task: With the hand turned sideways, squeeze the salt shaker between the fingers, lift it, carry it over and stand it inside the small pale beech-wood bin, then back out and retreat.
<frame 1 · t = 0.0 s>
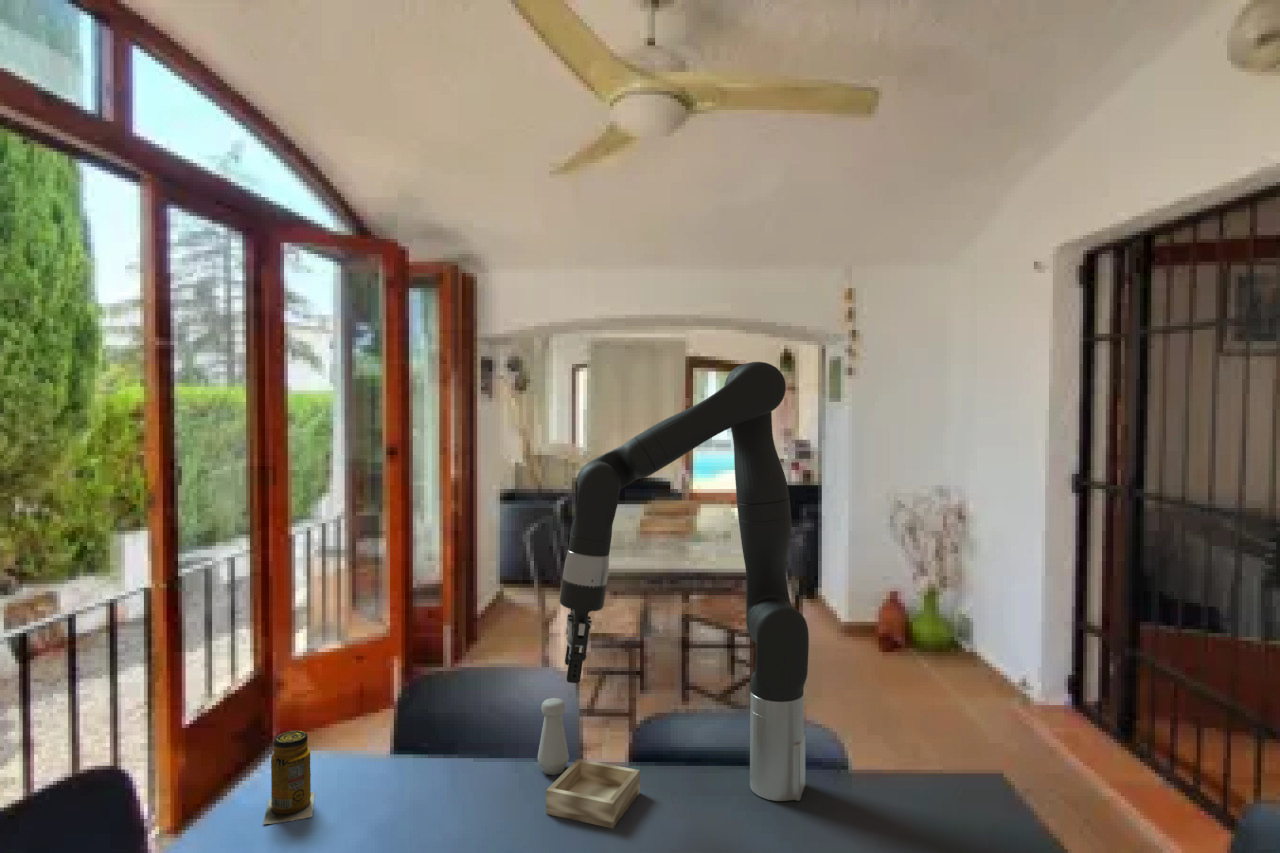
hand: (571, 673, 129), 22 cm above the table, tool pointing down, fingers open, 8 cm apart
salt shaker: (553, 770, 141), on the table
condiment: (290, 810, 128), on the table
serving bin: (594, 803, 129), on the table
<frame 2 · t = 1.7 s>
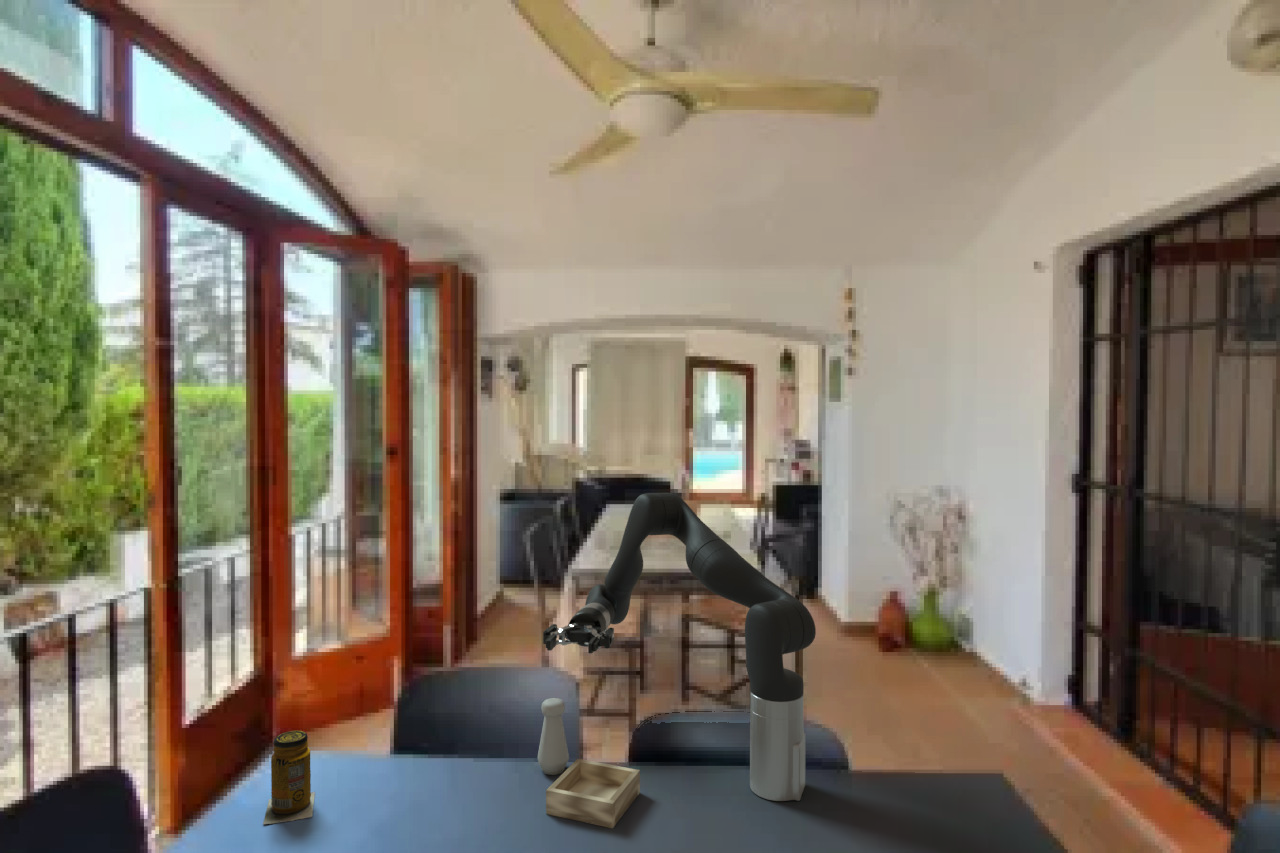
hand: (569, 647, 151), 19 cm above the table, tool horizontal, fingers open, 8 cm apart
nothing on the table moved.
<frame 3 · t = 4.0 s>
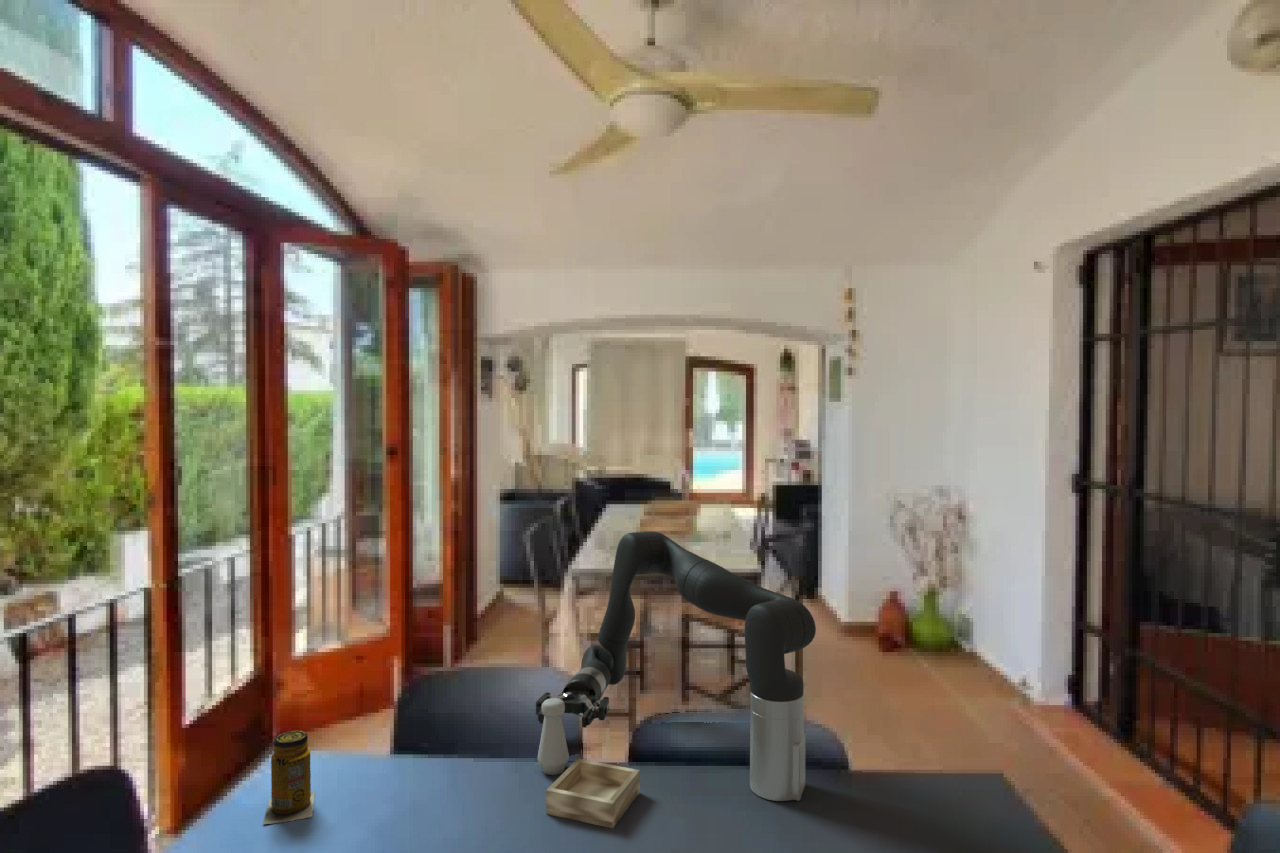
hand: (562, 720, 146), 7 cm above the table, tool horizontal, fingers open, 8 cm apart
nothing on the table moved.
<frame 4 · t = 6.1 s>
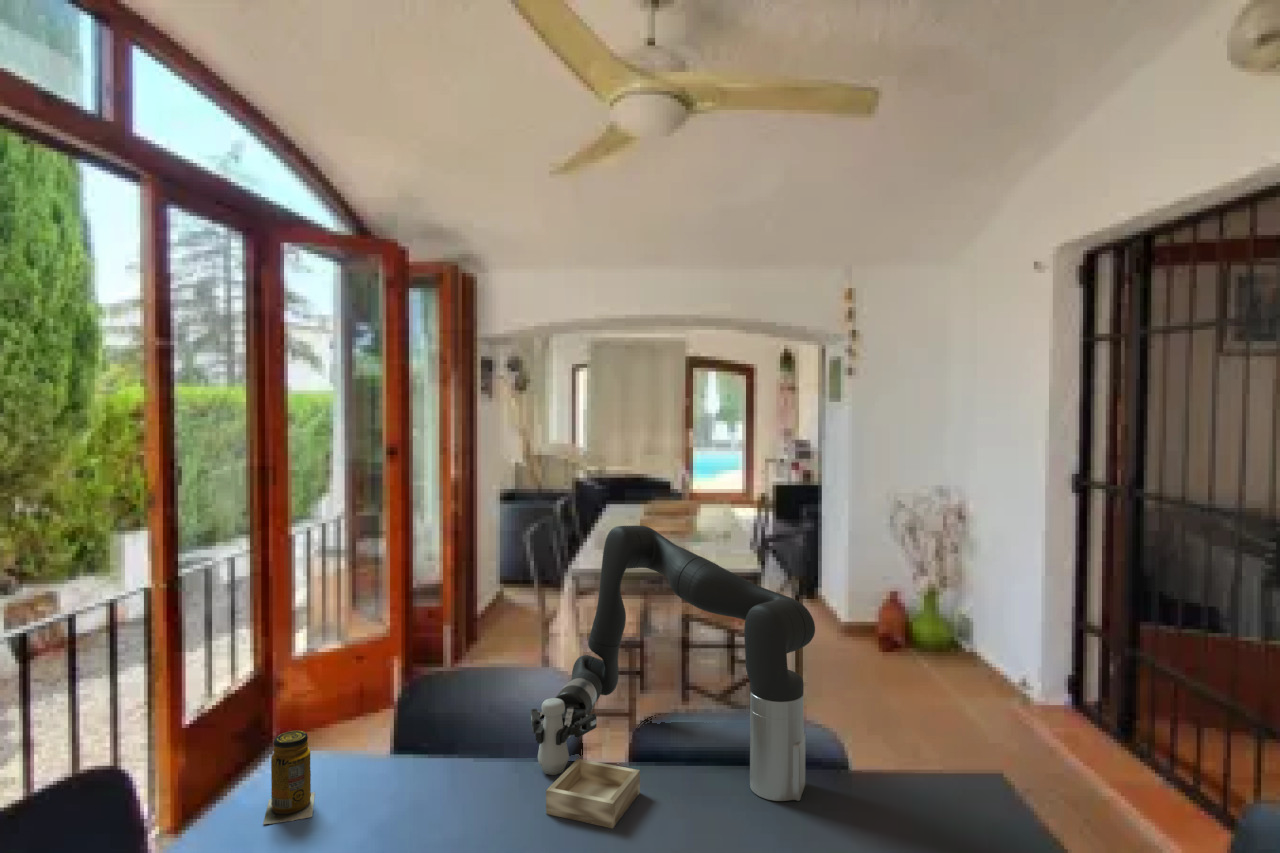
hand: (548, 739, 138), 7 cm above the table, tool horizontal, fingers closed on salt shaker, 3 cm apart
salt shaker: (553, 770, 141), on the table, touching gripper
everything else where it was.
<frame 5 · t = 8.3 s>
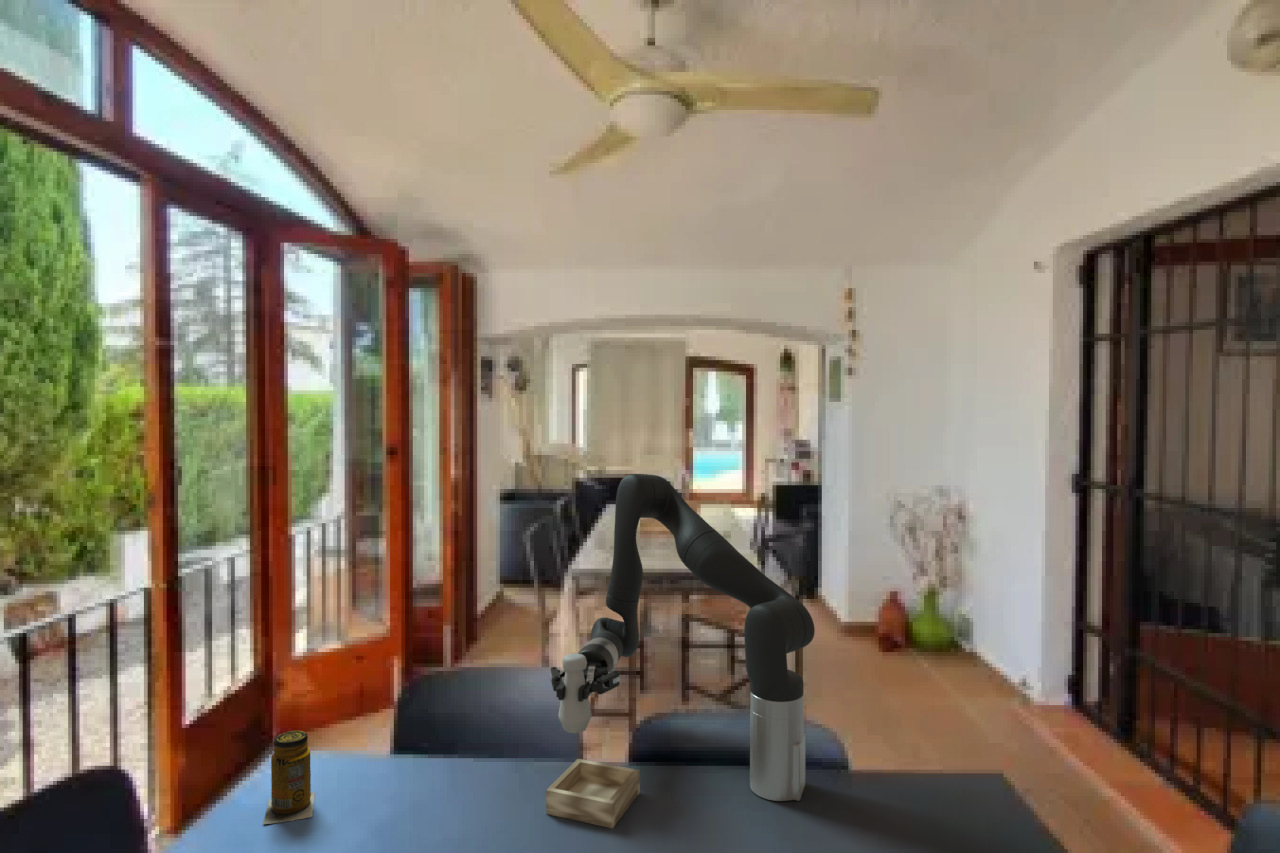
hand: (570, 695, 131), 18 cm above the table, tool horizontal, fingers closed on salt shaker, 3 cm apart
salt shaker: (575, 729, 134), point 10 cm above the table, touching gripper
everything else where it was.
when the fingers open (9 cm above the table, at t = 10.6 s): salt shaker drops 1 cm, resting on serving bin.
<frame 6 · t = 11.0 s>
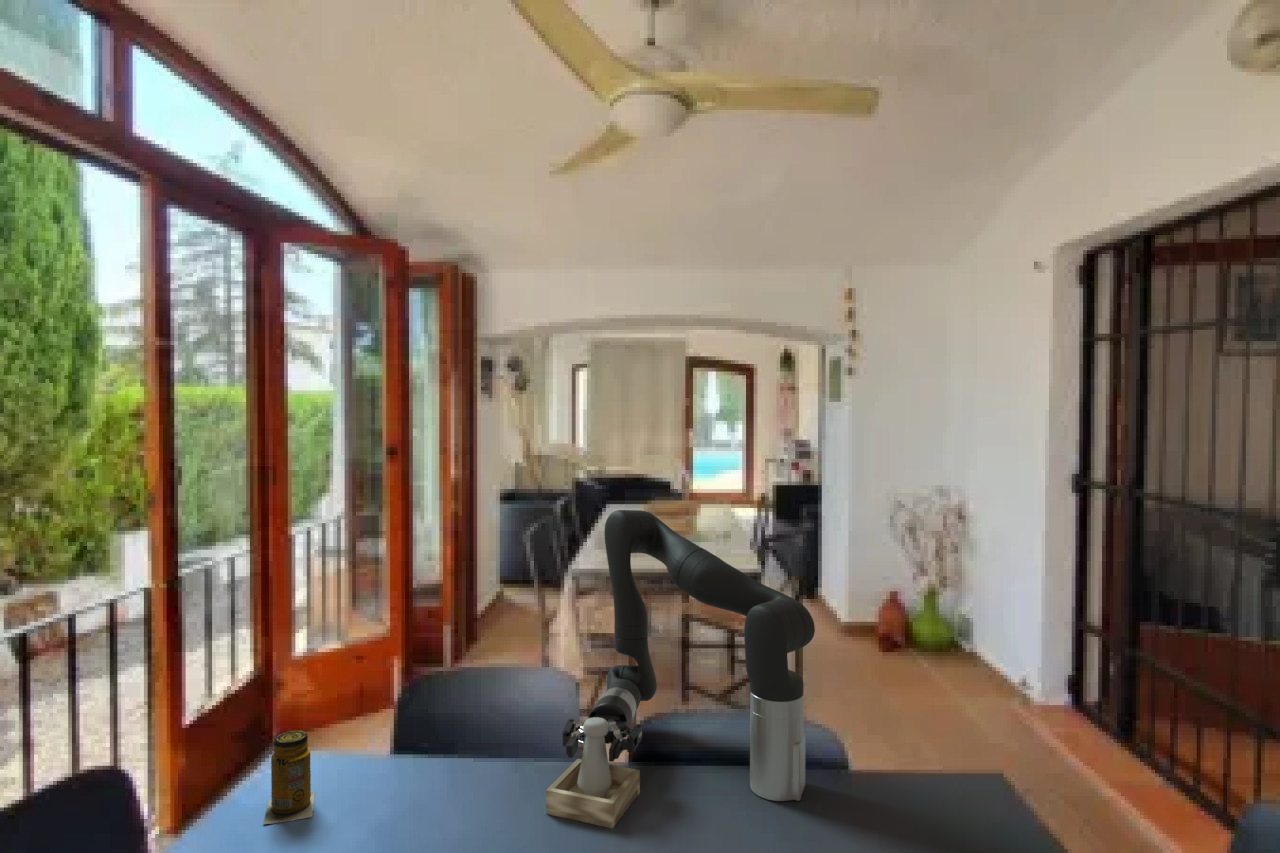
hand: (590, 754, 127), 10 cm above the table, tool horizontal, fingers open, 6 cm apart
salt shaker: (594, 797, 129), point 1 cm above the table, touching serving bin
everything else where it was.
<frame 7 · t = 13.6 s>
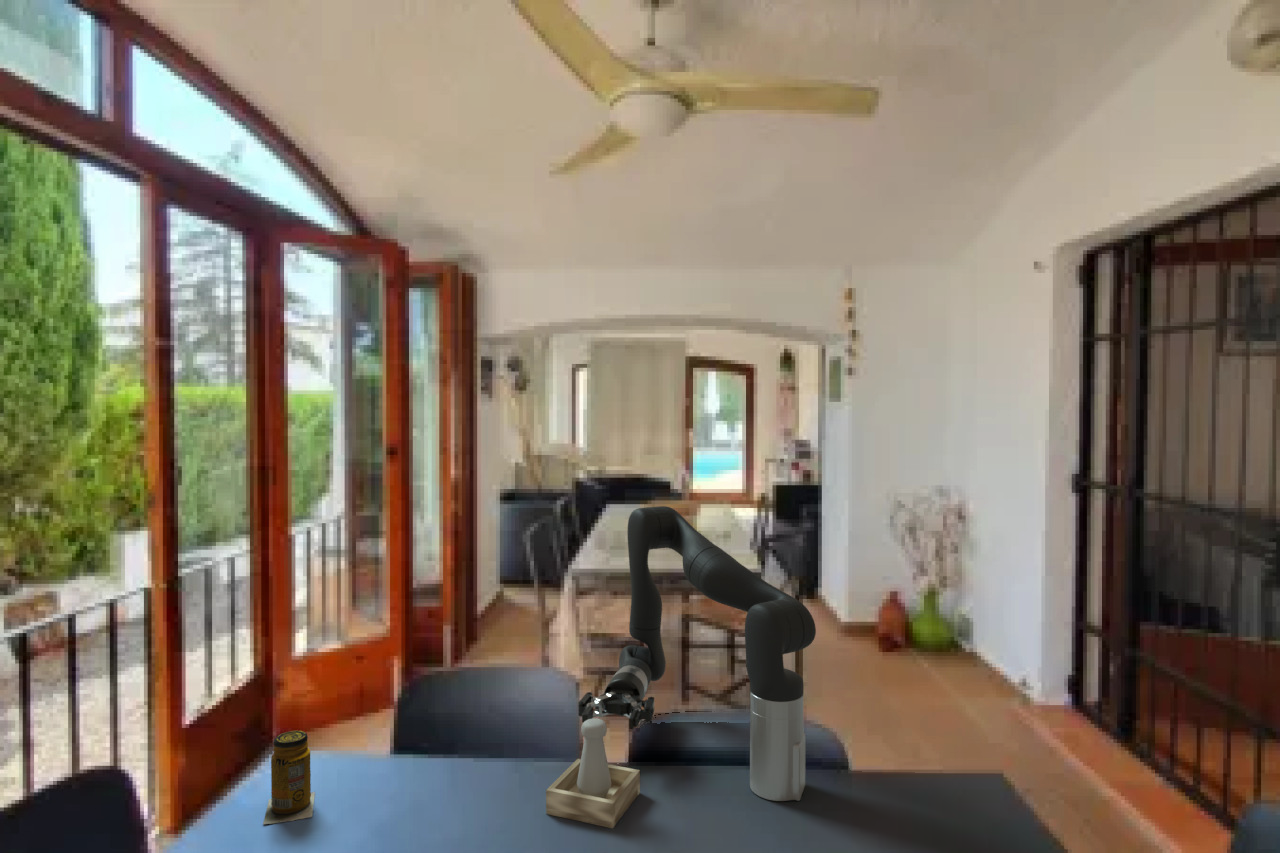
hand: (608, 722, 139), 9 cm above the table, tool horizontal, fingers open, 8 cm apart
nothing on the table moved.
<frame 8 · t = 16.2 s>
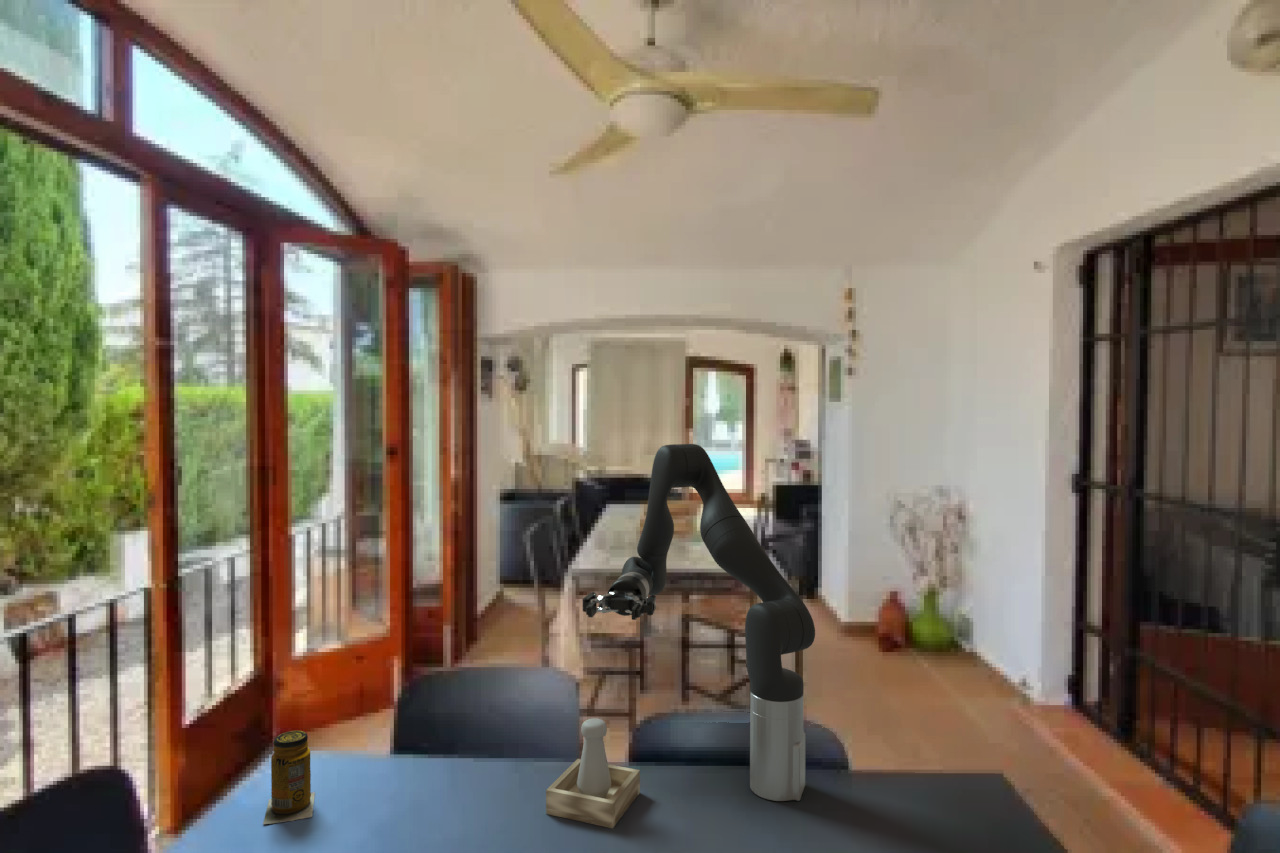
hand: (611, 613, 145), 28 cm above the table, tool horizontal, fingers open, 8 cm apart
nothing on the table moved.
at the end: salt shaker inside the target area on the serving bin (0.1 cm from its centre), point 0.8 cm above the serving bin's base; salt shaker tilted 0°; the gripper is holding nothing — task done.
